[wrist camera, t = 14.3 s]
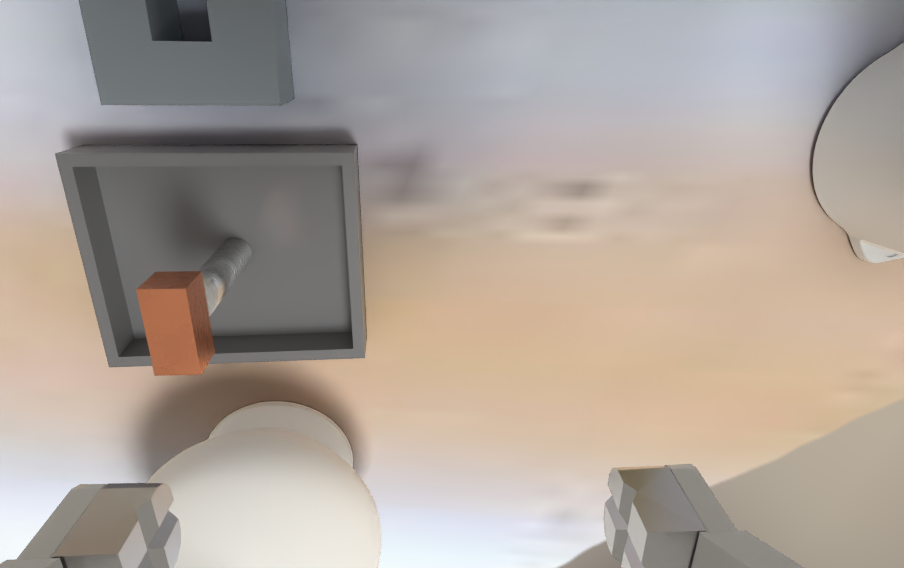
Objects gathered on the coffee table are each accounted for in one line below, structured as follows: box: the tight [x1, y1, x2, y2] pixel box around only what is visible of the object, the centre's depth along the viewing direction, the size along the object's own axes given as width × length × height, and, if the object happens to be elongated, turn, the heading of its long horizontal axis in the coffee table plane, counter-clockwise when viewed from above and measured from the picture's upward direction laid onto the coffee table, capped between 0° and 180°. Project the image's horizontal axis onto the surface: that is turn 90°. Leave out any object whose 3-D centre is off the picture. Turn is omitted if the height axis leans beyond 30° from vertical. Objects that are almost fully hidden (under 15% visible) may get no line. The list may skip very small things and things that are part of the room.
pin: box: [136, 238, 252, 376], centre depth 35 cm, size 2×5×12 cm, turn 179°
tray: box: [55, 144, 367, 367], centre depth 40 cm, size 18×15×4 cm
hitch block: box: [79, 0, 294, 106], centre depth 33 cm, size 10×10×5 cm
